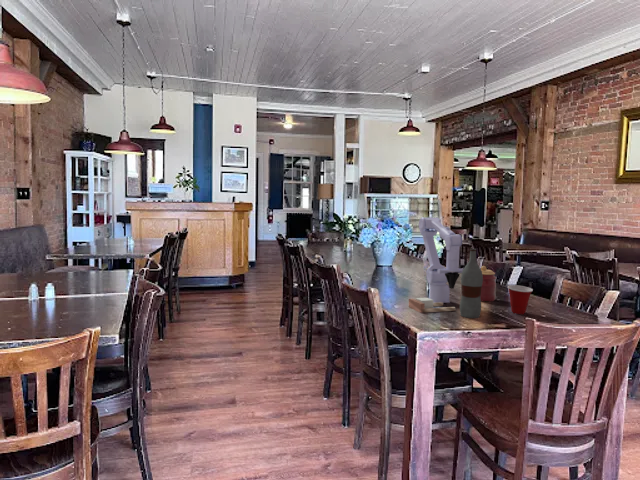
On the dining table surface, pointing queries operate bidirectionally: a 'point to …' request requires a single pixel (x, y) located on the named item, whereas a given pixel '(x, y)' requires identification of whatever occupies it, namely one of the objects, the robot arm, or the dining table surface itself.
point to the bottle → (471, 288)
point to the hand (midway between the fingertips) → (451, 288)
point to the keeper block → (426, 302)
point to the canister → (488, 285)
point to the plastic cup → (519, 298)
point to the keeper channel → (420, 308)
